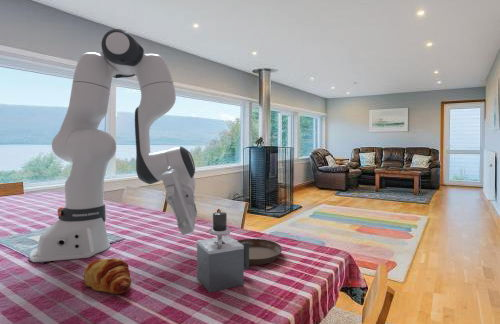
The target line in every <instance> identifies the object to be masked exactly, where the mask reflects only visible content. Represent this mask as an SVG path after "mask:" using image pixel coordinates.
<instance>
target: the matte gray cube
mask: <svg viewBox="0 0 500 324" xmlns="http://www.w3.org/2000/svg"><path fill="white" fill-rule="evenodd" d="M249 269H250V265H249V243H248V242H242V243H239V242H238V241H237V240H236V239H234V237H232V236H230V235H223V236H222V244H220V245H217V237H211V238H205V239H197V240H196V271H197V272H196V274H197V277H196V278H197V280H198V281H199V282H200V283H201V284H202V286H203V287H204V288H205V290H206V291H207V292H208V293H209V294H210V293H214V292H217V291H218V292H219V291H224V290H227V289H228V290H229V289H231V288H236V287H237V288H238V287H240V286H244V281H245V280H244V276H245V275H244V272H245V271H246V270H249Z"/></svg>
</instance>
